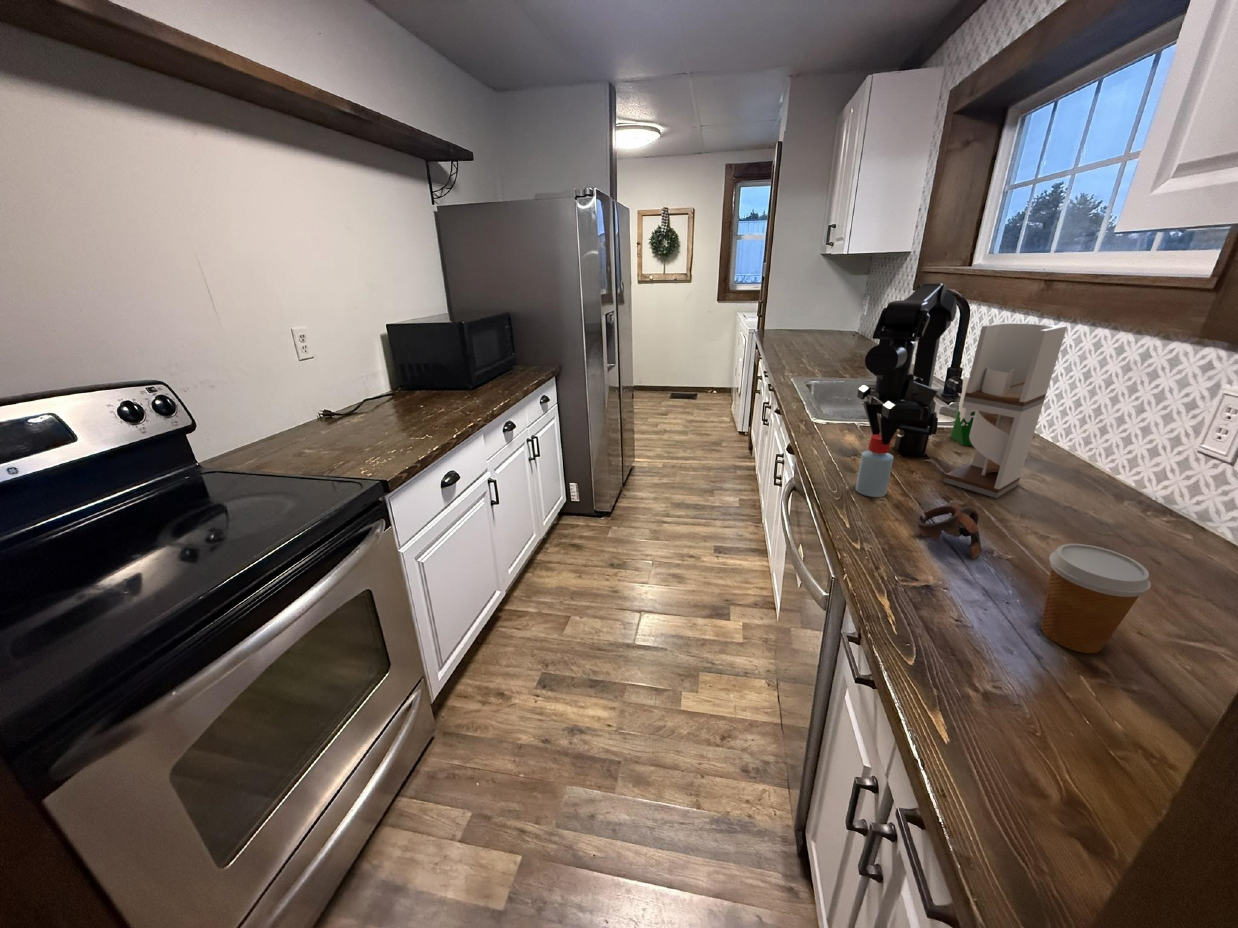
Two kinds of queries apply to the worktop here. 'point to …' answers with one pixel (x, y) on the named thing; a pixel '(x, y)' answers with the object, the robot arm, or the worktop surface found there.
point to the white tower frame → (1006, 402)
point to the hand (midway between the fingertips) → (880, 440)
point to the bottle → (874, 473)
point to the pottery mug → (952, 525)
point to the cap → (878, 445)
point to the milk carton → (963, 419)
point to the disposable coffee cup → (1090, 595)
